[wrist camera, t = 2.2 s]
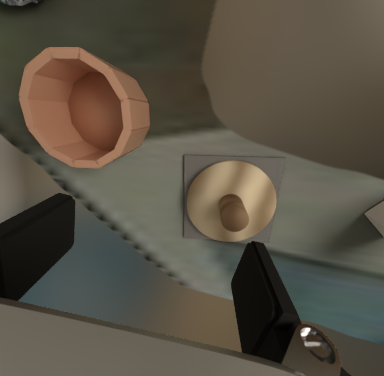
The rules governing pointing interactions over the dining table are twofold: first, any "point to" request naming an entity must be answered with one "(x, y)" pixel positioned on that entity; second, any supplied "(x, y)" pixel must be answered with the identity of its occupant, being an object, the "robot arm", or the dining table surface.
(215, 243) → the dining table surface
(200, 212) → the lid
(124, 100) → the bowl
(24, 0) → the tree stump
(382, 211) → the milk carton
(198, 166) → the mat
